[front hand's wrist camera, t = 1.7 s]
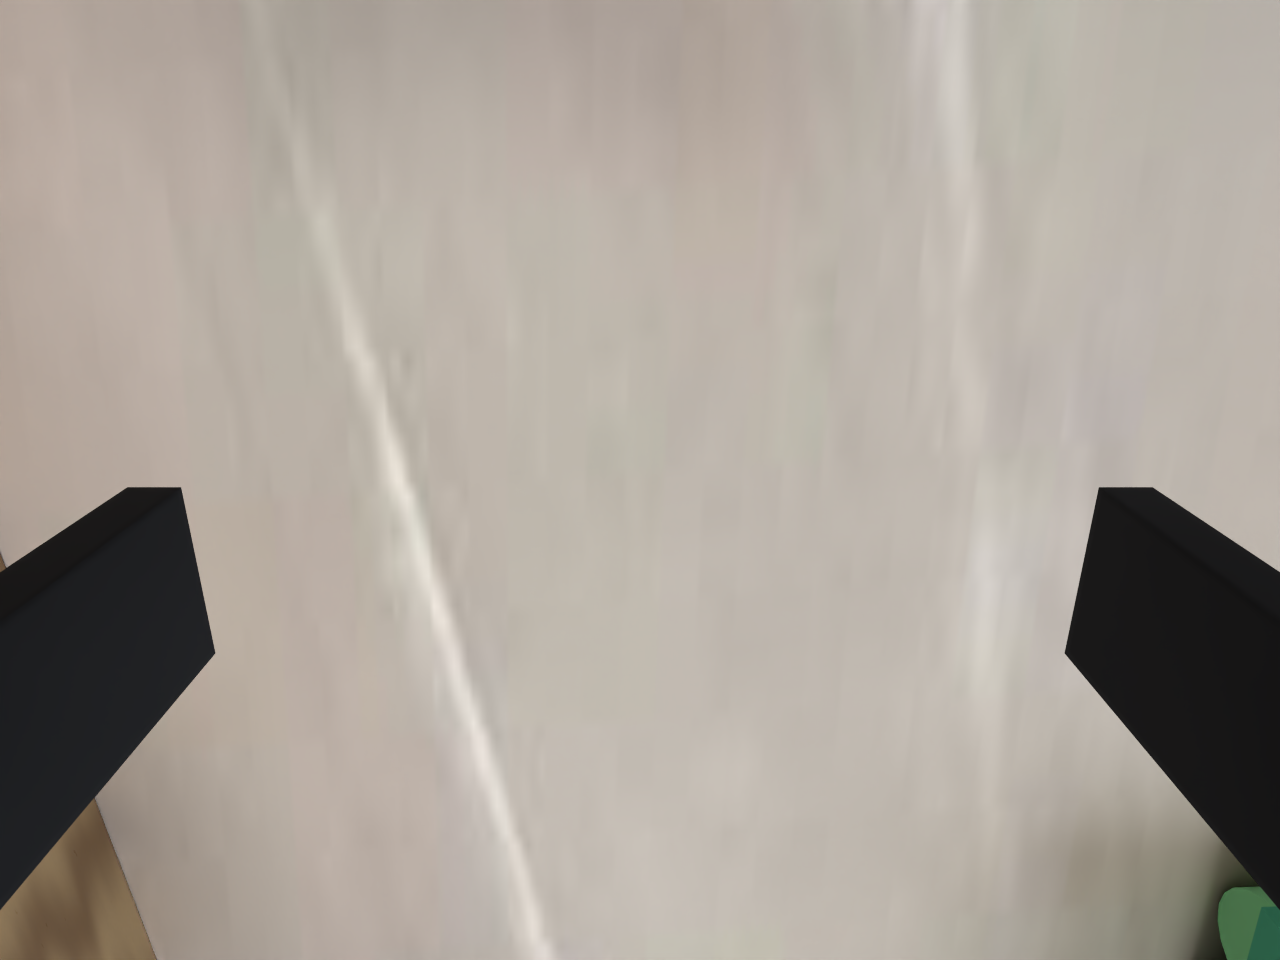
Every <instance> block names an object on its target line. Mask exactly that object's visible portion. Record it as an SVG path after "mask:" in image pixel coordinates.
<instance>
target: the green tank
mask: <svg viewBox="0 0 1280 960" xmlns="http://www.w3.org/2000/svg"><path fill="white" fill-rule="evenodd" d="M1218 926H1219V933H1220V939H1221V942H1222V945H1223V948H1224V952H1225V955H1226V958H1227V960H1280V910H1279V909H1278V908H1277V906H1276V905H1275V904H1274V903H1273V902H1272V900H1271V899H1270V898H1269V897H1268V896H1267V894H1266V893H1265V892H1264V891H1263V890H1262V888H1261V887H1260V886H1259V887H1234V888H1232V889H1230V890H1228V891H1227V892H1225V893H1224V894H1223V896H1222V898H1221V900H1220V902H1219V908H1218Z"/></svg>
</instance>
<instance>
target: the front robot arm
mask: <svg viewBox="0 0 1280 960" xmlns="http://www.w3.org/2000/svg"><path fill="white" fill-rule="evenodd" d="M214 654H215V649H214V645H213V640H212V635H211V630H210V625H209V620H208V616H207V611H206V606H205V601H204V596H203V591H202V587H201V582H200V577H199V572H198V567H197V562H196V558H195V553H194V548H193V543H192V538H191V533H190V529H189V524H188V519H187V514H186V509H185V504H184V500H183V495H182V490H181V487H127V488H126V489H124V490H123V491H121V492H120V493H118V494H117V495H115V496H114V497H112V498H111V499H109V500H108V501H106V502H105V503H103V504H102V505H100V506H99V507H97V508H96V509H94V510H93V511H91V512H90V513H88V514H87V515H85V516H84V517H82V518H81V519H79V520H78V521H76V522H75V523H73V524H72V525H70V526H69V527H67V528H66V529H64V530H63V531H61V532H60V533H58V534H57V535H55V536H54V537H52V538H51V539H49V540H48V541H46V542H45V543H43V544H42V545H40V546H39V547H37V548H36V549H34V550H33V551H31V552H30V553H28V554H27V555H25V556H24V557H22V558H21V559H19V560H18V561H16V562H15V563H13V564H12V565H10V566H9V567H7V568H6V569H4V570H3V571H1V572H0V910H1V909H2V907H3V906H4V905H5V904H6V903H7V902H8V900H9V899H10V898H11V897H12V896H13V894H14V893H15V892H16V891H17V890H18V888H19V887H20V886H21V885H22V884H23V882H24V881H25V880H26V879H27V878H28V876H29V875H30V874H31V873H32V872H33V870H34V869H35V868H36V867H37V866H38V864H39V863H40V862H41V861H42V860H43V859H44V857H45V856H46V855H47V854H48V853H49V851H50V850H51V849H52V848H53V847H54V845H55V844H56V843H57V842H58V841H59V839H60V838H61V837H62V836H63V835H64V833H65V832H66V831H67V830H68V829H69V827H70V826H71V825H72V824H73V823H74V821H75V820H76V819H77V818H78V817H79V816H80V814H81V813H82V812H83V811H84V810H85V808H86V807H87V806H88V805H89V804H90V802H91V801H92V800H93V799H94V798H95V796H96V795H97V794H98V793H99V792H100V790H101V789H102V788H103V787H104V786H105V784H106V783H107V782H108V781H109V780H110V778H111V777H112V776H113V775H114V774H115V772H116V771H117V770H118V769H119V768H120V767H121V765H122V764H123V763H124V762H125V761H126V759H127V758H128V757H129V756H130V755H131V753H132V752H133V751H134V750H135V749H136V747H137V746H138V745H139V744H140V743H141V741H142V740H143V739H144V738H145V737H146V735H147V734H148V733H149V732H150V731H151V729H152V728H153V727H154V726H155V725H156V724H157V722H158V721H159V720H160V719H161V718H162V716H163V715H164V714H165V713H166V712H167V710H168V709H169V708H170V707H171V706H172V704H173V703H174V702H175V701H176V700H177V698H178V697H179V696H180V695H181V694H182V692H183V691H184V690H185V689H186V688H187V686H188V685H189V684H190V683H191V682H192V680H193V679H194V678H195V677H196V676H197V675H198V673H199V672H200V671H201V670H202V669H203V667H204V666H205V665H206V664H207V663H208V661H209V660H210V659H211V658H212V657H213V655H214ZM1065 654H1066V655H1067V657H1068V658H1069V659H1070V660H1071V661H1072V663H1073V664H1074V665H1075V666H1076V667H1077V669H1078V670H1079V671H1080V672H1081V673H1082V675H1083V676H1084V677H1085V678H1086V679H1087V680H1088V682H1089V683H1090V684H1091V685H1092V686H1093V688H1094V689H1095V690H1096V691H1097V692H1098V694H1099V695H1100V696H1101V697H1102V698H1103V700H1104V701H1105V702H1106V703H1107V704H1108V706H1109V707H1110V708H1111V709H1112V710H1113V712H1114V713H1115V714H1116V715H1117V716H1118V718H1119V719H1120V720H1121V721H1122V722H1123V724H1124V725H1125V726H1126V727H1127V728H1128V729H1129V731H1130V732H1131V733H1132V734H1133V735H1134V737H1135V738H1136V739H1137V740H1138V741H1139V743H1140V744H1141V745H1142V746H1143V747H1144V749H1145V750H1146V751H1147V752H1148V753H1149V755H1150V756H1151V757H1152V758H1153V759H1154V761H1155V762H1156V763H1157V764H1158V765H1159V767H1160V768H1161V769H1162V770H1163V771H1164V772H1165V774H1166V775H1167V776H1168V777H1169V778H1170V780H1171V781H1172V782H1173V783H1174V784H1175V786H1176V787H1177V788H1178V789H1179V790H1180V792H1181V793H1182V794H1183V795H1184V796H1185V798H1186V799H1187V800H1188V801H1189V802H1190V804H1191V805H1192V806H1193V807H1194V808H1195V810H1196V811H1197V812H1198V813H1199V814H1200V816H1201V817H1202V818H1203V819H1204V820H1205V821H1206V823H1207V824H1208V825H1209V826H1210V827H1211V829H1212V830H1213V831H1214V832H1215V833H1216V835H1217V836H1218V837H1219V838H1220V839H1221V841H1222V842H1223V843H1224V844H1225V845H1226V847H1227V848H1228V849H1229V850H1230V851H1231V853H1232V854H1233V855H1234V856H1235V857H1236V859H1237V860H1238V861H1239V862H1240V863H1241V864H1242V866H1243V867H1244V868H1245V869H1246V870H1247V872H1248V873H1249V874H1250V875H1251V876H1252V878H1253V879H1254V880H1255V881H1256V882H1257V884H1258V885H1259V886H1260V887H1261V888H1262V890H1263V891H1264V892H1265V893H1266V894H1267V896H1268V897H1269V898H1270V899H1271V900H1272V902H1273V903H1274V904H1275V905H1276V906H1277V908H1278V909H1279V910H1280V572H1279V571H1277V570H1276V569H1274V568H1273V567H1271V566H1270V565H1268V564H1267V563H1265V562H1264V561H1262V560H1261V559H1259V558H1258V557H1256V556H1255V555H1253V554H1252V553H1250V552H1249V551H1247V550H1246V549H1244V548H1243V547H1241V546H1240V545H1238V544H1237V543H1235V542H1234V541H1232V540H1231V539H1229V538H1228V537H1226V536H1225V535H1223V534H1222V533H1220V532H1219V531H1217V530H1216V529H1214V528H1213V527H1211V526H1210V525H1208V524H1207V523H1205V522H1204V521H1202V520H1201V519H1199V518H1198V517H1196V516H1195V515H1193V514H1192V513H1190V512H1189V511H1187V510H1186V509H1184V508H1183V507H1181V506H1180V505H1178V504H1177V503H1175V502H1174V501H1172V500H1171V499H1169V498H1168V497H1166V496H1165V495H1163V494H1162V493H1160V492H1159V491H1157V490H1156V489H1154V488H1153V487H1099V490H1098V495H1097V499H1096V504H1095V509H1094V514H1093V519H1092V524H1091V529H1090V533H1089V538H1088V543H1087V548H1086V553H1085V558H1084V562H1083V567H1082V572H1081V577H1080V582H1079V587H1078V591H1077V596H1076V601H1075V606H1074V611H1073V616H1072V620H1071V625H1070V630H1069V635H1068V640H1067V645H1066V649H1065Z"/></svg>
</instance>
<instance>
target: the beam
mask: <svg viewBox="0 0 1280 960" xmlns="http://www.w3.org/2000/svg"><path fill="white" fill-rule="evenodd" d="M4 569H6V567H5V565H4V562H3V560H2V557H1V554H0V572H1V571H3V570H4ZM0 960H157V959H156V957H155V954H154V952H153V949H152V946H151V944H150V941H149V939H148V936H147V933H146V931H145V928H144V926H143V923H142V920H141V918H140V915H139V913H138V910H137V907H136V905H135V902H134V900H133V897H132V894H131V892H130V889H129V887H128V884H127V881H126V879H125V876H124V874H123V871H122V868H121V866H120V863H119V861H118V858H117V856H116V853H115V850H114V848H113V845H112V843H111V840H110V837H109V835H108V832H107V830H106V827H105V824H104V822H103V819H102V817H101V814H100V811H99V809H98V806H97V804H96V801H95V798H94V799H93V800H92V801H91V802H90V804H89V805H88V806H87V807H86V808H85V810H84V811H83V812H82V813H81V814H80V816H79V817H78V818H77V819H76V820H75V821H74V823H73V824H72V825H71V826H70V827H69V829H68V830H67V831H66V832H65V833H64V835H63V836H62V837H61V838H60V839H59V841H58V842H57V843H56V844H55V845H54V847H53V848H52V849H51V850H50V851H49V853H48V854H47V855H46V856H45V857H44V859H43V860H42V861H41V862H40V863H39V864H38V866H37V867H36V868H35V869H34V870H33V872H32V873H31V874H30V875H29V876H28V878H27V879H26V880H25V881H24V882H23V884H22V885H21V886H20V887H19V888H18V890H17V891H16V892H15V893H14V894H13V896H12V897H11V898H10V899H9V900H8V902H7V903H6V904H5V905H4V906H3V907H2V909H1V910H0Z"/></svg>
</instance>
